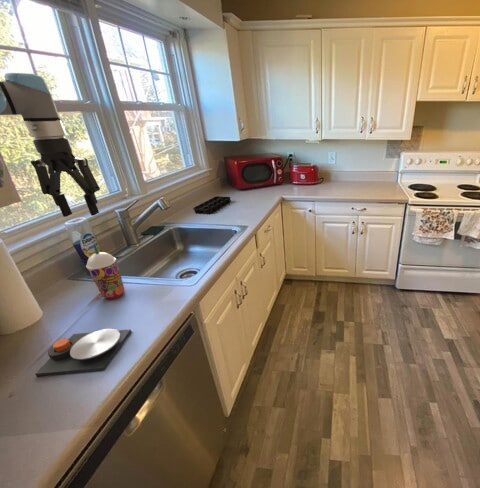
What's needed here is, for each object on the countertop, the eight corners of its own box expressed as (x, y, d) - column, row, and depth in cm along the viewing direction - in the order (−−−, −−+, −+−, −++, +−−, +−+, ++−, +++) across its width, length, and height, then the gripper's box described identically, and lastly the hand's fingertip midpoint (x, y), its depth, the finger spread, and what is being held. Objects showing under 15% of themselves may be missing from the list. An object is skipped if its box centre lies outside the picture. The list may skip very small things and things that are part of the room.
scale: (34, 377, 71) (28, 369, 69) (73, 337, 83) (68, 329, 82) (104, 370, 72) (100, 362, 71) (131, 332, 85) (128, 324, 83)
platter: (59, 361, 71) (59, 360, 71) (87, 331, 81) (87, 330, 81) (105, 357, 72) (105, 356, 72) (127, 328, 82) (127, 326, 82)
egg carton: (192, 214, 180) (190, 209, 178) (208, 201, 207) (207, 196, 205) (219, 214, 180) (218, 208, 178) (232, 200, 207) (231, 195, 205)
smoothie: (115, 303, 98) (94, 252, 89) (94, 301, 99) (71, 250, 90) (133, 289, 105) (115, 241, 96) (114, 287, 106) (94, 240, 98)
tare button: (52, 352, 74) (49, 347, 74) (61, 343, 77) (58, 339, 77) (65, 351, 75) (62, 346, 74) (73, 342, 78) (71, 337, 77)
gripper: (-3, 139, 74) (37, 220, 84) (79, 138, 76) (108, 217, 86) (22, 137, 81) (56, 212, 91) (96, 135, 83) (122, 209, 93)
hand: (81, 214), depth 88 cm, fingers open, 7 cm apart
